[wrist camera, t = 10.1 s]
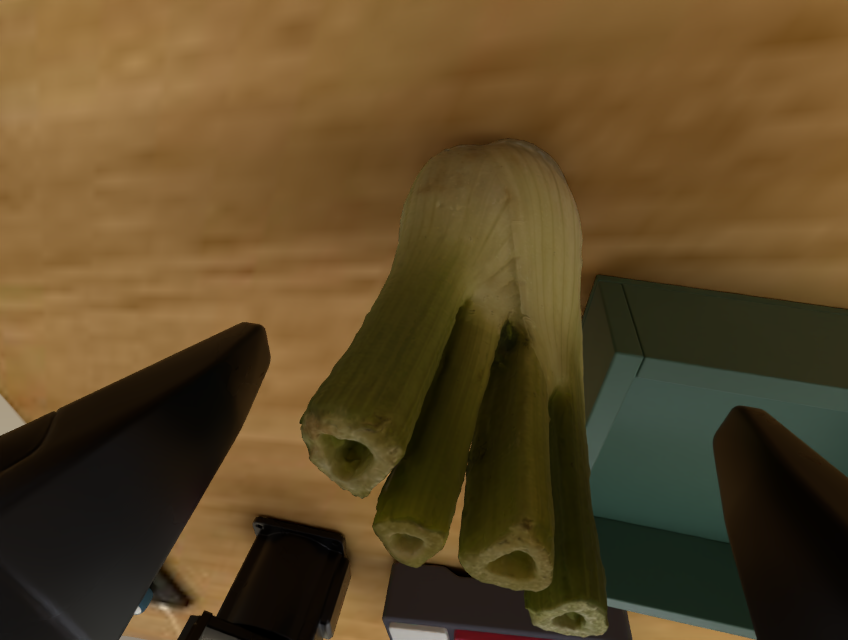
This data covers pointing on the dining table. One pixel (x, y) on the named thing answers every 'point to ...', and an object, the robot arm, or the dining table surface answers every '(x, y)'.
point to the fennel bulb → (477, 386)
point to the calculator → (468, 609)
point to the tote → (694, 430)
